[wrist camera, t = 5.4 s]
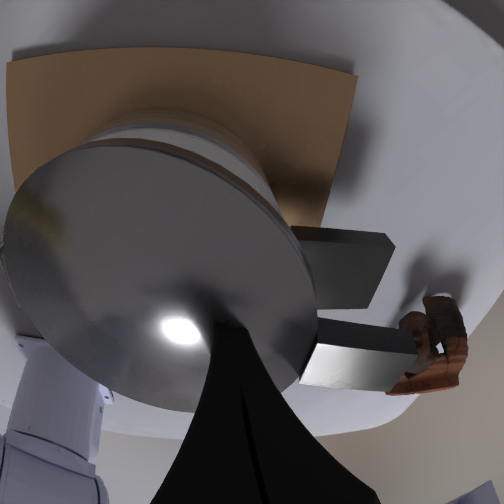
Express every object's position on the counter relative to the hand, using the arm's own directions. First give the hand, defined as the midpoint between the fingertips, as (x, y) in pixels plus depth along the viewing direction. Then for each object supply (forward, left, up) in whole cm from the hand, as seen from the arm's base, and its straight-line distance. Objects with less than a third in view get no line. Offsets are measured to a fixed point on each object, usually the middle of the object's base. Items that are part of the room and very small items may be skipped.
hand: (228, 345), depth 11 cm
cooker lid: (0, +2, -1) cm, 2 cm away
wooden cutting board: (0, +3, -9) cm, 10 cm away
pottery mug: (-10, -19, -9) cm, 23 cm away
